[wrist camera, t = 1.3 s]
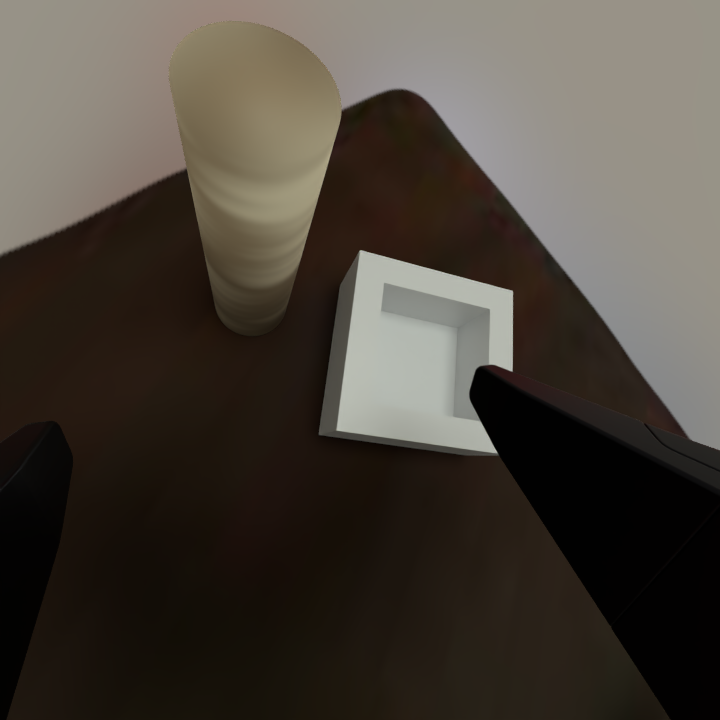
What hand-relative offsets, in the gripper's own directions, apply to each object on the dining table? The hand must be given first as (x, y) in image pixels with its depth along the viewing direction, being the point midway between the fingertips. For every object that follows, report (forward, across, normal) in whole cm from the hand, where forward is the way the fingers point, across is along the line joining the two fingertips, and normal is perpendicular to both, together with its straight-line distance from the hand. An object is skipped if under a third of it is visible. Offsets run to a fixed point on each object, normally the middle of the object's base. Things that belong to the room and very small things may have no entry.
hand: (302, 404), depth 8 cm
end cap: (+11, -9, +8) cm, 16 cm away
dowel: (+15, 0, +4) cm, 15 cm away
